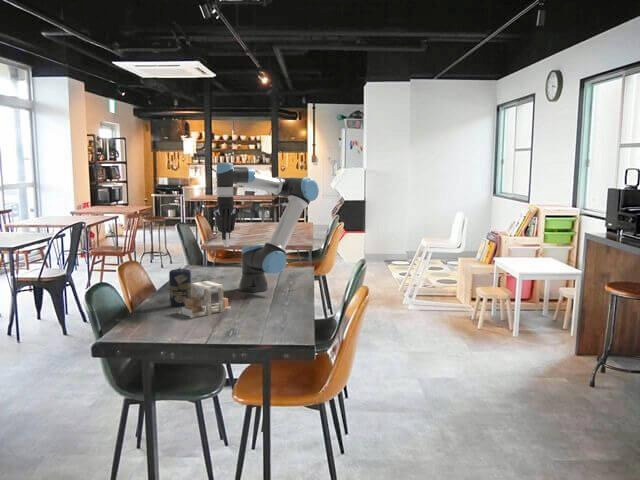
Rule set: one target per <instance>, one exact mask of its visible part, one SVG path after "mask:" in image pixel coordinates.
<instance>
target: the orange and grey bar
mask: <svg viewBox="0 0 640 480" xmlns="http://www.w3.org/2000/svg"><path fill="white" fill-rule="evenodd" d="M223 299H224V307H229V298H227V297H223ZM202 306H203V305H201V311H200V312H195V313H192V310H190V309H187V308H186V307H185V306H183V307H181V311H182V314H181V315H184V316H188V317H190V315H192V314H196V313H201V312H206V309H205V307H202ZM215 309H219V306H215V307H211V310H215Z"/></svg>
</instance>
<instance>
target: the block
mask: <svg viewBox="0 0 640 480" xmlns="http://www.w3.org/2000/svg"><path fill="white" fill-rule="evenodd" d="M201 306H202V298H200V297H197V296H196V297H192V296H191V297H190V298H185V306H184V308H187V309H190V310H192V313H195V312H200V311H201Z"/></svg>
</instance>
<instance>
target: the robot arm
mask: <svg viewBox="0 0 640 480" xmlns="http://www.w3.org/2000/svg"><path fill="white" fill-rule="evenodd" d="M215 177H216V195H217V197H216V201H217V202H216V203H217V208H216V210H215V211H213V212H212V215H213V216H214V219H215V224H216V227H217V231H218V232H220V233H221V240H222V243H223V244H222V245H223V247H224V248H229V247H230V239H231V233H232V232H234V230H235V224H236V220H237V215H238V212H239V211H238V210H236V209H235V208H234V203H235V202H234V200H235V199H234V185H238V186H242V187H247V188H252V189H256V190H261V191H266V192H269V193H272V194H273V195H276V196H279V197H282V198H286V199H287V200H288V201H287V202H288V203H287V204H286V207H285V208H284V211H283V213H282V215H281V217H280V219H279V220H278V223H277V226H276V228H275V229H274V232H273V234H272V236H271V238H270V240H269V241H267V242H265V243H264V245H263V244H257V245H255V244H254V245H246V246H243V247H242V248H241V278H240V282H239V284H238V291H241V292H245V293H259V292H265V291H267V290H268V289H269V284H268V282H267V281H268V280H267V279H266V275H265V274H269V275H276V274H279V273H281V272H283V270H284V269H285V267H286V265H287V255H286V254H287V251H286V247H287V245H288V243H289V241H290V239H291V236H292V234H293V232H294V230H295V228H296V226H297V224H298V222H299V220H300V218H301V215H302V213H303V212H304V209H306V208H308V207H309V205H310V203H311V202H313V201H316V199H317V198H318V196H319V193H320V190H319V184H318V183H317V181H316V180H315V179H313V178H309V177H280V176H275V177H273V176H268V175H263V174H259V173H256V171H255V169H254V168H253V167H251V166H234V164H233V163H232V162H218V163H217V164H216V170H215Z"/></svg>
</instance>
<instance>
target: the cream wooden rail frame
mask: <svg viewBox="0 0 640 480" xmlns="http://www.w3.org/2000/svg"><path fill="white" fill-rule="evenodd" d="M197 288H198V289H203V302H204V305H201V306H202V307H205V309H206V312H201V313H196V314H192V315H190V316H189V318H191V319H192V318H197V317H202V316H211V315H212V314H215V313H216V314H217V313H224V312H225V311H229V310H232V306H229V305H228V307H224V299H223V298H224V284H221V283H217V282H214V281H208V280H204V281H198V282H191V297H197ZM213 289H217V291H218V293H217V294H218V295H217V296H218V302H216V303H212V290H213ZM215 306H219V309H215V310H211V307H215ZM178 315H183V314H182V310H179V311H178Z"/></svg>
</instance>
